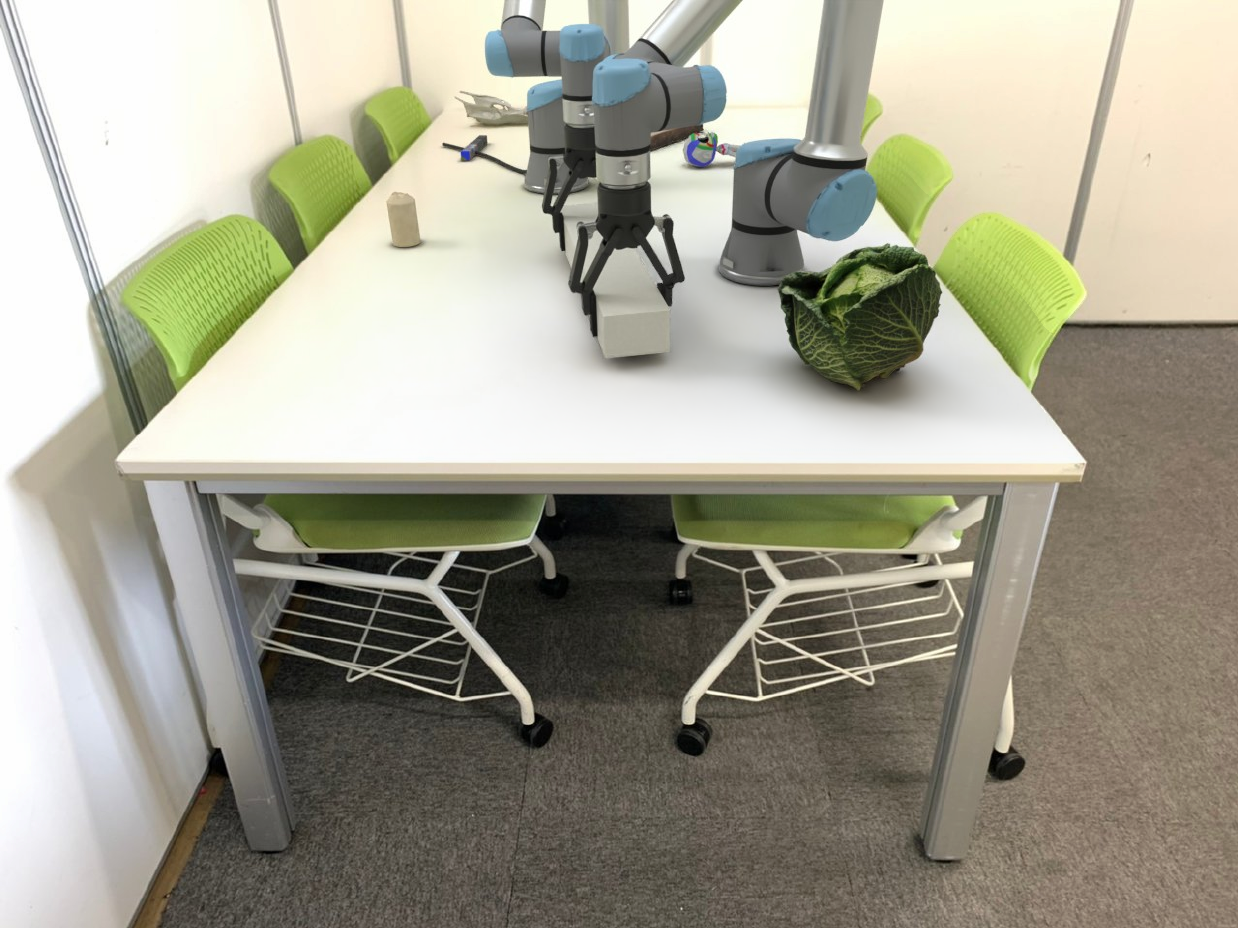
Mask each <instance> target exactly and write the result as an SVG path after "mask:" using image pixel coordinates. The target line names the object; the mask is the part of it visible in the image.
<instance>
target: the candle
mask: <svg viewBox="0 0 1238 928" xmlns="http://www.w3.org/2000/svg"><path fill="white" fill-rule="evenodd" d="M385 203H386V208H387V209H386V210H387V215H388V222H389V228H390V236H391V241H392V245H393V246H395V247H400V248H409V247H414V246H417V245H419V244H420V243H421V233H420V227H419V220H418V212H417V205H416V199H415V198H414V196H412V195H411V194H409V193H407V192H405V193H404V192H397V191H394V192H392V193H391V194H390V196H389V197H388V198H387V199H386V202H385Z"/></svg>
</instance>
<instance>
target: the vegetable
mask: <svg viewBox="0 0 1238 928" xmlns="http://www.w3.org/2000/svg"><path fill="white" fill-rule="evenodd" d="M936 275H937V272H936V270H935V268H934V267H931V266H930V265H929V261H928V257H927V256H926V254H923V253H921V252H918V251H916V250H915V247H914V246H900V245H897V244H894V245H892V246H891V243H888V242H887V243H885V244H883V245H882V246H865V247H861V248H856V249H853V250H852V251H850V252H848V253H847V254H845V255H843V256H841V257H840V258H838V260H837V261H836V262H835V263H834V264H832V266H831V267H828V268H826V269H824V270H822V271H810V270H806V271H805V270H804V271H796V272H793V273H790V274H789V275H786V276H784V277H783V278H782V280H781V281H782V283H781V284H780V285H778V288H777V293H778V296H779V299H780V309H781V310H782V312H783V313H784V314H785V316H784V323H785V326H786V329H787V330H786V332H787V334H788V341H789V344H790V345H791V347H792V349H793V350H794V351H795V352H796V354H797V355H798V357H799V358H800V359H801V361H802V362H803V363H804V364H805V365H810V366H811V367H812V368H813V369H814V371H816V372H817V373H818V374H819V375H821V376H822V377H824V378H825V379H828V380H829V381H830V382H835V383H839V384H842V385H843V384H844V385H849V386H850V387H852V388H854V389H855V390H856V391H857V392H859V391H860V390H861V388H863V387H866V386H865V383H868V382H870V381H871V380H872V379H873V378H875V377H879V378H882V379H888V378H889V377H890V375H891V374H892V373H893V372H899V371H900V370H901V369H902V368H905V366H906V365H908V364H910V363H912V362H914V361H916V360H918V359H920V357H921V355H922V354H923V353H924V343H925V340H926V338H927V336H928V335H929V333H930V331H931V329H932V327H933V325H934V321H935V319H936V318H938V316H939V313H940V309H939V308H940V307H941V306H942V305H941V303H940V301H941V297H942V294H943V290H942V288H941V284H940V283H941V282H940V281H939V280H938V279H937V277H936Z"/></svg>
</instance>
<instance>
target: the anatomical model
mask: <svg viewBox="0 0 1238 928" xmlns="http://www.w3.org/2000/svg"><path fill="white" fill-rule="evenodd" d="M459 93H460V94H464V95H468V96H471V97H472V98H473V101H474V103H472V102H468V101H465V100H463V99H461V98H460V97H458V96H456V95H454V99H455V100H457V101H459V102H461V103H462V105H463V107H464V110H465V113H466V117H467V118H472V119H475V121H476V122H478V123H482V124H484V125H488V126H494V125H495V126H496V125H502V124H503V125H504V124H507V123H520V124H521V123H523V124H528V113H527V110H526V108H527V105H526V106H525V107H523V108H522V107H514V106H512V104H511V103H509V102H508V101H506V100H504V99H502V98H499V97H497V96H492V95H487V94H478V93H474V92H473V93H472V92H468V91H465V90H459ZM494 105H495V106H494ZM497 105H498V106H500V107H502V109H501V108H498V107H496V106H497Z"/></svg>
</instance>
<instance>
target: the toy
mask: <svg viewBox="0 0 1238 928" xmlns="http://www.w3.org/2000/svg"><path fill="white" fill-rule="evenodd" d="M699 136H704V137H699ZM718 138H719V136H718V135H717V133H716V132H713V131H711V132H709V131H707V133H703V132H698V133H693V134H691V135H690V136H689V137H688V138H686V140H685V142H684V144H683V147H682V154H683V158H684V161H686V163H687V164H689V165H691V166H694V167H699V168H700V167H701V168H704V167H706V166H709V165H711V164H712V162H713V161H714V160H715V158H716V154H717V153H718V154H720V155H721V156H730V157H734V158H736V152H737V149H738V148H739V147H740V146H741V145H743V144H745V143H746V142H744V143H742V144H741V145H739V144H738V145H737V144H731V143H727V142H723V143H721V144H719V145H718V143H719V140H718Z"/></svg>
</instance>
